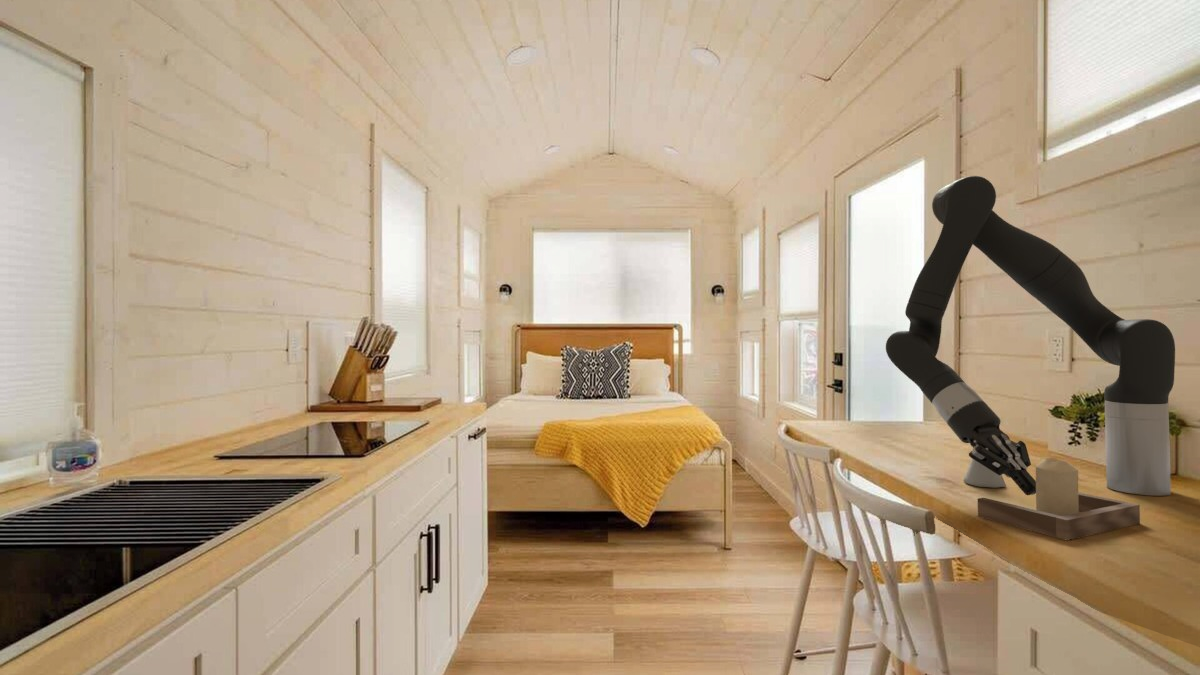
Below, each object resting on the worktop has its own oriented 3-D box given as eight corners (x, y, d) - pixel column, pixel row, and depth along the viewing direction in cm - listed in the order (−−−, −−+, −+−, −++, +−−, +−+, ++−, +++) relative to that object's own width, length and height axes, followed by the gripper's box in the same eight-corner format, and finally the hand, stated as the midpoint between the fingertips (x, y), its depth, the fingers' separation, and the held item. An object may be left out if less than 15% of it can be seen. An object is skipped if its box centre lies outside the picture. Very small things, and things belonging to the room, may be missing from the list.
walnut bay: (1048, 502, 106) (1047, 486, 107) (1139, 523, 94) (1139, 504, 94) (977, 516, 99) (977, 498, 99) (1067, 540, 87) (1067, 520, 87)
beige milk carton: (1087, 525, 94) (1086, 462, 94) (1051, 525, 94) (1050, 462, 94) (1062, 514, 99) (1061, 455, 99) (1028, 514, 99) (1027, 455, 99)
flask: (956, 480, 125) (955, 433, 125) (991, 480, 124) (990, 433, 124) (977, 489, 117) (976, 439, 117) (1014, 488, 117) (1013, 438, 117)
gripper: (953, 401, 106) (1026, 484, 94) (1002, 397, 111) (1076, 476, 100) (927, 426, 111) (993, 508, 99) (975, 422, 116) (1042, 499, 104)
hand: (1034, 492), depth 99 cm, fingers closed
